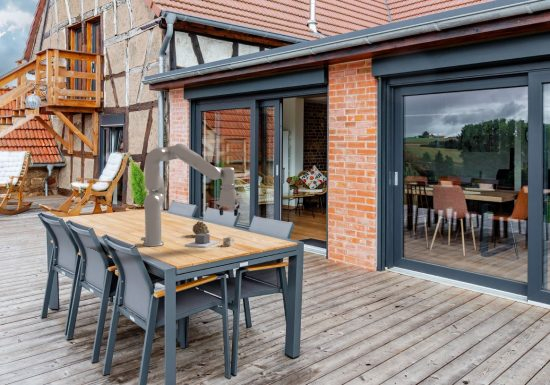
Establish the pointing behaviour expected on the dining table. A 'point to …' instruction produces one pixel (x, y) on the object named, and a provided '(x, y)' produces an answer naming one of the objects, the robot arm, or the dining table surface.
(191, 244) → the board
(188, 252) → the dining table surface
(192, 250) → the dining table surface
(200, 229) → the pine cone
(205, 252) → the dining table surface
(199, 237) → the charcoal block
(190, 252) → the dining table surface
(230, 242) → the cream block
